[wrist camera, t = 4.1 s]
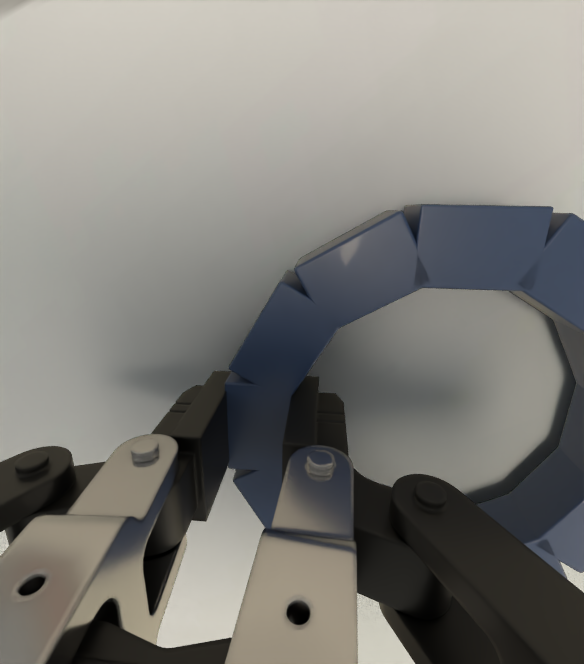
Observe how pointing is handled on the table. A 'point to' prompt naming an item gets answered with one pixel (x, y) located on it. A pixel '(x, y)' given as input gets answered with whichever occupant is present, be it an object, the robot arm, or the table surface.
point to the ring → (392, 284)
